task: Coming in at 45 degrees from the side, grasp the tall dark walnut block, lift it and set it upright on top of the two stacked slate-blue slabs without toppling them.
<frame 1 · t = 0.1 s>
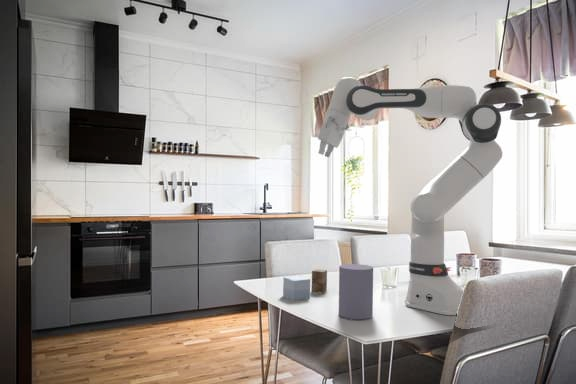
hand: (323, 155, 160), 52 cm above the table, tool tilted 20°, fingers open, 8 cm apart
tower base: (296, 297, 154), on the table, touching tower top
tower top: (296, 287, 154), point 3 cm above the table, touching tower base
walnut block: (319, 291, 164), on the table
container: (355, 316, 131), on the table
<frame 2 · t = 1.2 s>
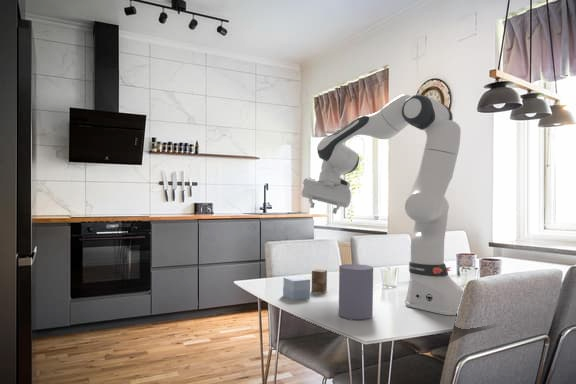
hand: (323, 210, 172), 31 cm above the table, tool tilted 35°, fingers open, 8 cm apart
nothing on the table moved.
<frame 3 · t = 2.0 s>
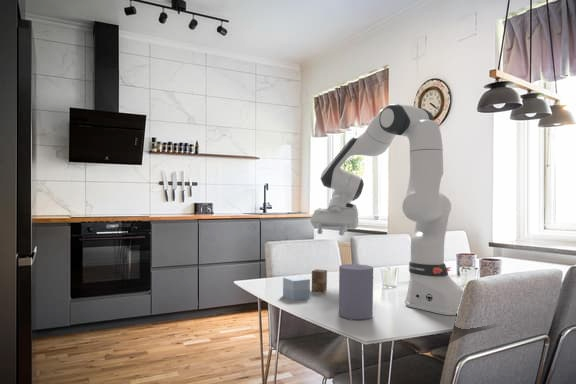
hand: (330, 233, 176), 21 cm above the table, tool tilted 45°, fingers open, 8 cm apart
nothing on the table moved.
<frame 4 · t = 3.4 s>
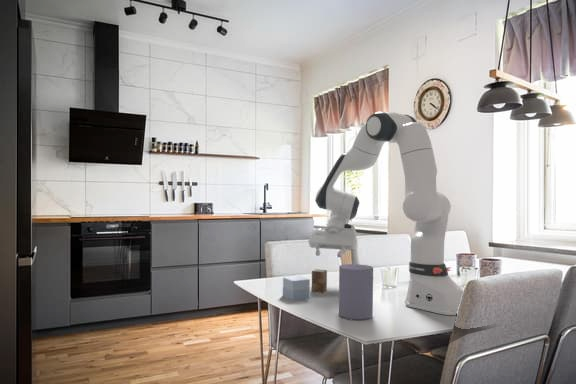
hand: (328, 255, 174), 13 cm above the table, tool tilted 45°, fingers open, 8 cm apart
nothing on the table moved.
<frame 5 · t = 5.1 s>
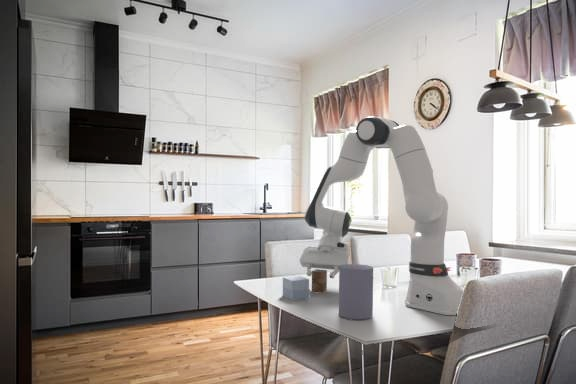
hand: (319, 276, 165), 6 cm above the table, tool tilted 45°, fingers open, 8 cm apart
tower base: (295, 297, 154), on the table
tower top: (295, 287, 154), point 3 cm above the table
everything else where it was.
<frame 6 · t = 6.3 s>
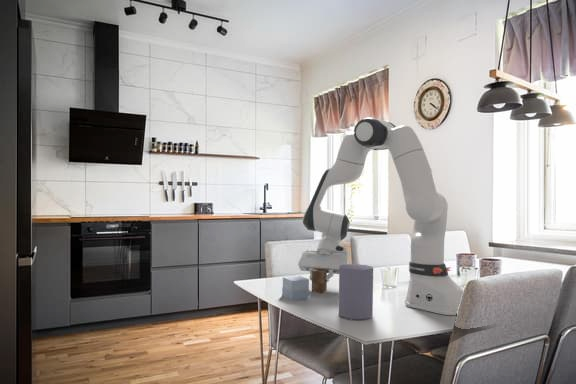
hand: (318, 280, 164), 4 cm above the table, tool tilted 45°, fingers closed on walnut block, 4 cm apart
tower base: (295, 297, 154), on the table, touching tower top
tower top: (295, 288, 154), point 3 cm above the table, touching tower base
walnut block: (319, 291, 164), on the table, touching gripper
everything else where it was.
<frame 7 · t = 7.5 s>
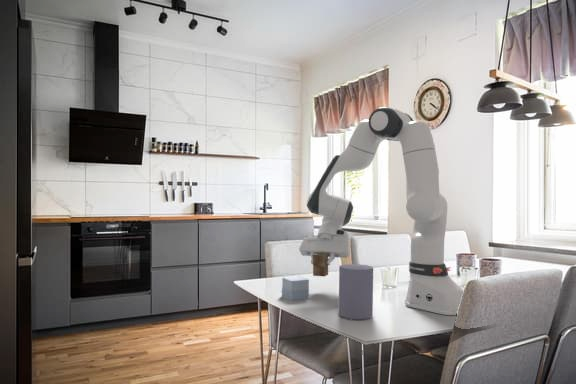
hand: (320, 263, 164), 11 cm above the table, tool tilted 45°, fingers closed on walnut block, 4 cm apart
walnut block: (320, 275, 164), point 6 cm above the table, touching gripper
everything else where it was.
when the fingers open (13 cm above the table, at t = 11.1 s): walnut block drops 2 cm, resting on tower top.
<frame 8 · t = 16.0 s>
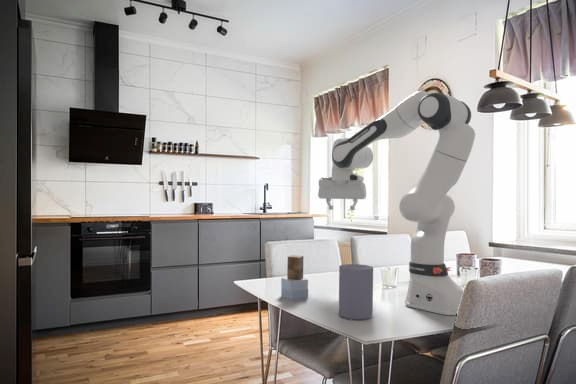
hand: (341, 209, 179), 31 cm above the table, tool pointing down, fingers open, 8 cm apart
tower top: (294, 288, 154), point 3 cm above the table, touching tower base, walnut block
walnut block: (295, 278, 154), point 7 cm above the table, touching tower top
everything else where it was.
at the end: walnut block 0.3 cm off-centre on the tower top, point 3.5 cm above the tower top's base; walnut block tilted 0°; tower top tilted 0° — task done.
